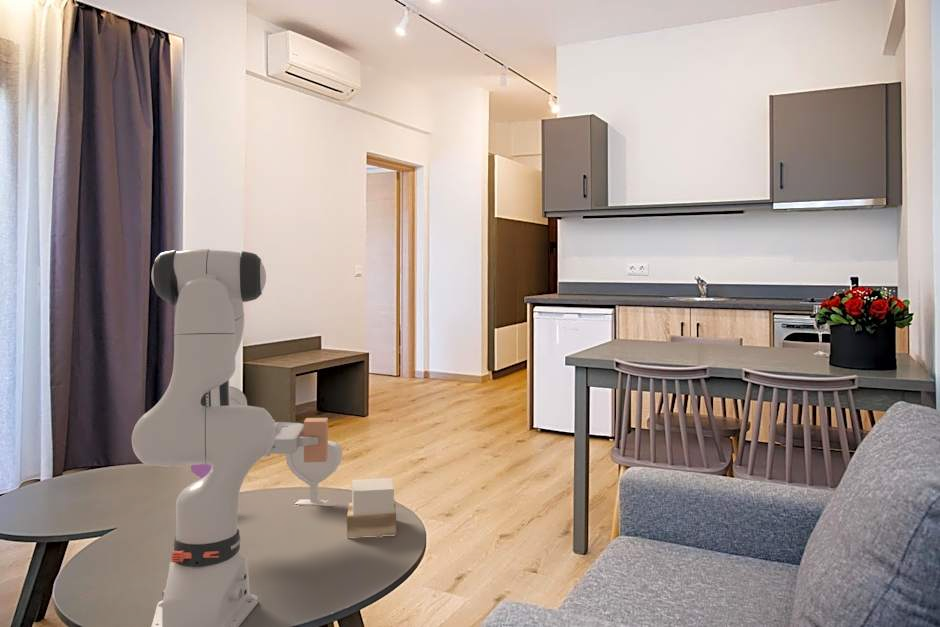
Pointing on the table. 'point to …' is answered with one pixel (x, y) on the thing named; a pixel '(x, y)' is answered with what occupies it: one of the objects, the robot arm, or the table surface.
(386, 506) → the tower top
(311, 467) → the heart sculpture
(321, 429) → the terracotta block
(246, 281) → the robot arm
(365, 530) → the tower base
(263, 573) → the table surface
